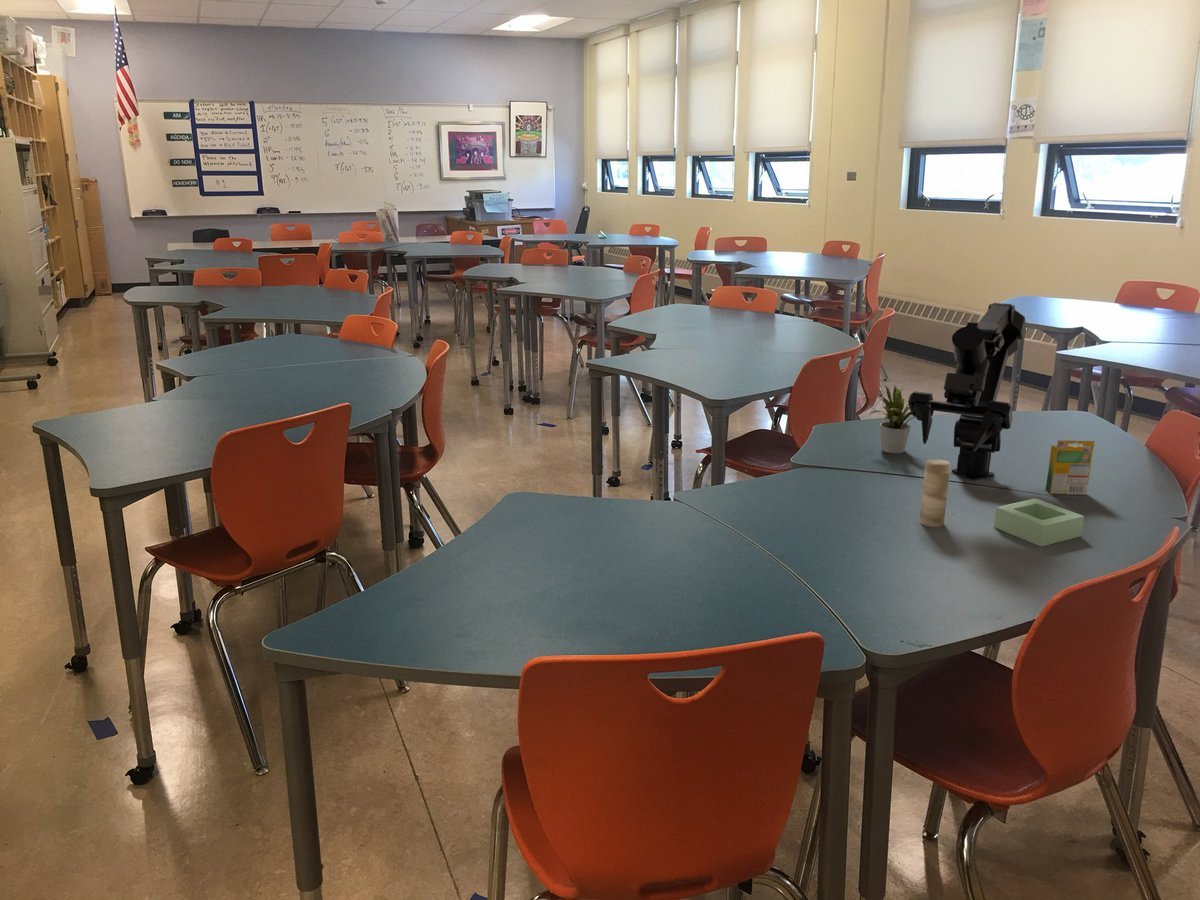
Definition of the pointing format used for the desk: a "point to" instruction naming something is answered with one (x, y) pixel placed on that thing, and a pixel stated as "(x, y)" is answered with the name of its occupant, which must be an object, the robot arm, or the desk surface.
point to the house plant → (894, 423)
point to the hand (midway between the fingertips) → (948, 446)
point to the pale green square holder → (1038, 522)
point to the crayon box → (1069, 468)
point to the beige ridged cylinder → (934, 493)
